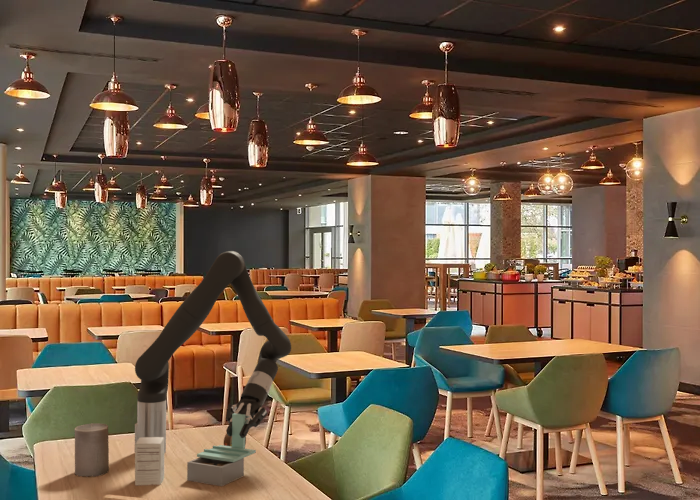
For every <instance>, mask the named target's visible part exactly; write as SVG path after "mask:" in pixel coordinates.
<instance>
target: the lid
mask: <svg viewBox="0 0 700 500" xmlns="http://www.w3.org/2000/svg"><path fill="white" fill-rule="evenodd" d="M245 421H246V417H245V414H236V413H235V412H234V414H232V447H231V446H224V444H223V445H221V444H219V445H213V446H212V448H209V449H208V448H205V449H203V451H201V452H199V453H197V454H196V457H197V458H199V457H202V458H208V459H215V460H221V461H228V462H235V461H238V460H240V459H242V458H244V459H245V458H248V456H251V455H254V454H256V449H252V448H246V445H245V437H244V438H241V437H240V435H239V434H240V431H241V429H242V427H243V425H244V424H246V423H245Z"/></svg>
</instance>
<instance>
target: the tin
mask: <svg viewBox="0 0 700 500" xmlns="http://www.w3.org/2000/svg"><path fill="white" fill-rule="evenodd" d="M246 443H247V435H246V436H245V446H246ZM223 445H224V446H231V447H232V436H228V435H227V433H226V434H225V435H224V438H223Z"/></svg>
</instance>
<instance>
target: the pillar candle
mask: <svg viewBox="0 0 700 500" xmlns="http://www.w3.org/2000/svg"><path fill="white" fill-rule="evenodd" d="M109 443H110V442H109V425H108V424H106V423H97V422H95V423H93V422H91V423H86V424H82V425H81V424H80V425H77V426H76V427H74V475H75V474H76V475H75V476H77V475H78V476H77V477H80V476H86V477H88V476H93V477H99V476H103V475H105V474H107V473H108V472H109V471H110V470H109V469H110V468H109V467H110V464H109V463H110V461H109V458H110V457H109V455H110V454H109V453H110V452H109V447H110V446H109Z"/></svg>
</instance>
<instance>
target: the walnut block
mask: <svg viewBox="0 0 700 500" xmlns="http://www.w3.org/2000/svg"><path fill="white" fill-rule="evenodd" d="M228 463H231V462H228V461H226V462H222V463H218V464H217V466H224V465H226V464H228Z"/></svg>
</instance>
